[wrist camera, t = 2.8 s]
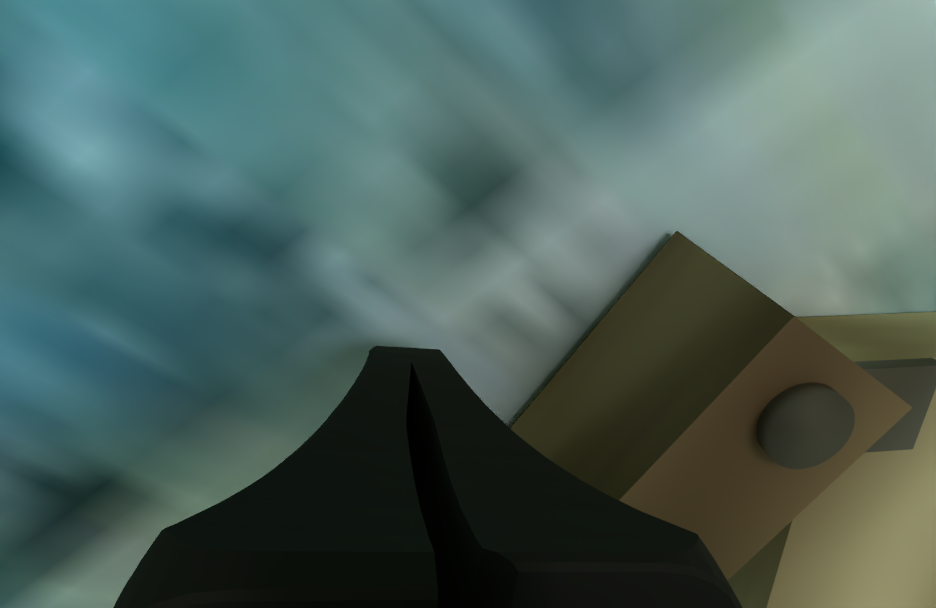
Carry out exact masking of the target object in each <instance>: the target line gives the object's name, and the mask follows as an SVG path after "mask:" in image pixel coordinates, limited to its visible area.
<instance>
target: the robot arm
mask: <svg viewBox="0 0 936 608" xmlns="http://www.w3.org/2000/svg"><path fill="white" fill-rule="evenodd" d="M114 608H742V606H741V604H740V602H739V600H738V599H737V597H736V595H735V593H734V591H733V590H732V588H731V586H730V584H729V583H728V581H727V579H726V578H725V576H724V574H723V572H722V571H721V569H720V567H719V565H718V564H717V562H716V561H715V559H714V558H713V556H712V555H711V553H710V552H709V550H708V549H707V547H706V546H705V544H704V543H703V541H702V540H701V539H700V537H699V536H698V534H696V533H694V532H691V531H689V530H686V529H684V528H681V527H679V526H676V525H674V524H671V523H669V522H667V521H664V520H662V519H659V518H657V517H654V516H652V515H649V514H647V513H644V512H642V511H640V510H637V509H635V508H633V507H631V506H629V505H627V504H625V503H623V502H621V501H619V500H617V499H615V498H613V497H611V496H609V495H607V494H605V493H603V492H601V491H600V490H598V489H596V488H594V487H592V486H591V485H589V484H587V483H585V482H583V481H582V480H580V479H579V478H577V477H575V476H574V475H572V474H571V473H569V472H568V471H566V470H564V469H563V468H561V467H560V466H558V465H557V464H555V463H554V462H552V461H551V460H549V459H548V458H546V457H545V456H544V455H542V454H541V453H540V452H538V451H537V450H536V449H535V448H533V447H532V446H531V445H529V444H528V443H527V442H526V441H524V440H523V439H522V438H520V437H519V436H518V435H517V434H516V433H515V432H513V431H512V430H511V429H510V428H509V427H508V426H507V425H506V424H505V423H504V422H503V421H502V420H500V419H499V418H498V417H497V416H496V415H495V414H494V413H493V412H492V411H491V410H490V409H489V408H488V407H487V406H486V405H485V404H484V403H483V402H482V400H481V399H480V398H479V397H478V396H477V395H476V394H475V393H474V391H473V390H472V389H471V388H470V387H469V386H468V384H467V383H466V382H465V381H464V379H463V378H462V377H461V376H460V375H459V373H458V372H457V371H456V369H455V368H454V367H453V366H452V364H451V363H450V362H449V361H448V359H447V358H446V357H445V356H444V354H443V353H442V352H441V351H440V350H437V349H420V348H403V347H386V346H375V347H374V348H372V349H371V350H370V351H369V355H368V358H367V361H366V363H365V365H364V367H363V369H362V371H361V373H360V374H359V376H358V378H357V380H356V381H355V383H354V384H353V386H352V387H351V389H350V390H349V392H348V393H347V395H346V396H345V397H344V399H343V400H342V401H341V403H340V404H339V405H338V406H337V408H336V409H335V410H334V411H333V413H332V414H331V415H330V416H329V417H328V419H327V420H326V421H325V422H324V423H323V424H322V425H321V427H320V428H319V429H318V430H317V431H316V432H315V433H314V434H313V435H312V436H311V437H310V438H309V439H308V440H307V441H306V442H305V443H304V444H303V445H302V446H300V447H299V448H298V449H297V450H296V451H295V452H294V453H292V454H291V455H290V456H289V457H288V458H286V459H285V460H284V461H283V462H282V463H280V464H279V465H278V466H277V467H275V468H274V469H273V470H271V471H270V472H269V473H267V474H266V475H265V476H263V477H262V478H260V479H259V480H257V481H256V482H254V483H253V484H251V485H250V486H248V487H246V488H245V489H243V490H241V491H240V492H238V493H236V494H234V495H233V496H231V497H229V498H227V499H226V500H224V501H222V502H220V503H218V504H216V505H214V506H212V507H210V508H208V509H206V510H204V511H202V512H200V513H198V514H195V515H193V516H191V517H189V518H187V519H185V520H183V521H181V522H179V523H177V524H174V525H172V526H170V527H167V528H165V529H163V530H162V531H161V532H160V534H159V535H158V537H157V538H156V539H155V541H154V542H153V544H152V545H151V547H150V548H149V550H148V551H147V553H146V554H145V555H144V557H143V558H142V560H141V561H140V563H139V565H138V566H137V568H136V570H135V571H134V573H133V574H132V576H131V577H130V579H129V580H128V582H127V584H126V585H125V587H124V589H123V591H122V592H121V594H120V596H119V598H118V600H117V601H116V603H115V606H114Z"/></svg>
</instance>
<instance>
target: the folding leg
mask: <svg viewBox="0 0 936 608" xmlns="http://www.w3.org/2000/svg"><path fill="white" fill-rule="evenodd" d="M912 408H913V407H911V406H910V405H909V404H907V403H906V402H905V401H904V400H902V399H901V398H900V397H898V396H897V395H896V394H894V393H893V392H892V391H891V390H889V389H888V388H887V387H885V386H884V385H883V384H882V383H880V382H879V381H878V380H876V379H875V378H874V377H872V376H871V375H870V374H869V373H867V372H866V371H865V370H863V369H862V368H861V367H860V366H858V365H857V364H856V363H854V362H853V361H852V360H850V359H849V358H848V357H847V356H845V355H844V354H843V353H841V352H840V351H839V350H838V349H836V348H835V347H834V346H832V345H831V344H830V343H828V342H827V341H826V340H825V339H823V338H822V337H821V336H819V335H818V334H817V333H816V332H814V331H813V330H812V329H810V328H809V327H808V326H806V325H805V324H804V323H803V322H801V321H800V320H799V319H797V318H796V317H795V316H793V315H792V314H791V313H789V312H788V311H787V310H785V309H784V308H782V307H781V306H780V305H778V304H777V303H776V302H774V301H773V300H771V299H770V298H769V297H767V296H766V295H765V294H763V293H762V292H760V291H759V290H758V289H756V288H755V287H754V286H752V285H751V284H749V283H748V282H747V281H745V280H744V279H743V278H741V277H740V276H738V275H737V274H736V273H734V272H733V271H732V270H730V269H729V268H727V267H726V266H725V265H723V264H722V263H720V262H719V261H718V260H716V259H715V258H714V257H712V256H711V255H709V254H708V253H707V252H705V251H704V250H703V249H701V248H700V247H698V246H697V245H696V244H694V243H693V242H692V241H690V240H689V239H687V238H686V237H685V236H683V235H682V234H681V233H679V232H678V231H676V232H675V234H674V235H673V236H672V237H671V238H670V239H669V241H668V242H667V243H666V244H665V245H664V247H663V248H662V249H661V250H660V251H659V252H658V254H657V255H656V256H655V257H654V258H653V260H652V261H651V262H650V263H649V264H648V266H647V267H646V268H645V269H644V270H643V271H642V273H641V274H640V275H639V276H638V277H637V279H636V280H635V281H634V282H633V283H632V285H631V286H630V287H629V288H628V289H627V290H626V292H625V293H624V294H623V295H622V296H621V298H620V299H619V300H618V301H617V302H616V304H615V305H614V306H613V307H612V308H611V309H610V311H609V312H608V313H607V314H606V315H605V317H604V318H603V319H602V320H601V321H600V323H599V324H598V325H597V326H596V327H595V328H594V330H593V331H592V332H591V333H590V334H589V336H588V337H587V338H586V339H585V340H584V341H583V343H582V344H581V345H580V346H579V347H578V349H577V350H576V351H575V352H574V353H573V355H572V356H571V357H570V358H569V359H568V360H567V362H566V363H565V364H564V365H563V366H562V368H561V369H560V370H559V371H558V372H557V374H556V375H555V376H554V377H553V378H552V379H551V381H550V382H549V383H548V384H547V385H546V387H545V388H544V389H543V390H542V391H541V393H540V394H539V395H538V396H537V397H536V398H535V400H534V401H533V402H532V403H531V404H530V406H529V407H528V408H527V409H526V410H525V412H524V413H523V414H522V415H521V416H520V417H519V419H518V420H517V421H516V422H515V423H514V425H513V426H512V427H511V428H510V429H511V430H512V431H513V432H515V433H516V434H517V435H518V436H519V437H520V438H522V439H523V440H524V441H526V442H527V443H528V444H529V445H531V446H532V447H533V448H535V449H536V450H537V451H538V452H540V453H541V454H542V455H544V456H545V457H546V458H548V459H549V460H551V461H552V462H554V463H555V464H557V465H558V466H560V467H561V468H563V469H564V470H566V471H568V472H569V473H571V474H572V475H574V476H575V477H577V478H579V479H580V480H582V481H583V482H585V483H587V484H589V485H591V486H592V487H594V488H596V489H598V490H600V491H601V492H603V493H605V494H607V495H609V496H611V497H613V498H615V499H617V500H619V501H621V502H623V503H625V504H627V505H629V506H631V507H633V508H635V509H637V510H640V511H642V512H644V513H647V514H649V515H652V516H654V517H657V518H659V519H662V520H664V521H667V522H669V523H671V524H674V525H676V526H679V527H681V528H684V529H686V530H689V531H691V532H694V533H696V534H698V536H699V537H700V539H701V540H702V541H703V543H704V544H705V546H706V547H707V549H708V550H709V552H710V553H711V555H712V556H713V558H714V559H715V561H716V562H717V564H718V565H719V567H720V569H721V571H722V572H723V574H724V576H725V578H726V579H727V581H728V580H729V579H730V578H731V577H732V576H733V575H734V574H735V573H736V572H737V571H738V570H739V569H740V568H742V567H743V566H744V565H745V564H746V563H747V562H748V561H749V560H750V559H751V558H752V557H753V556H754V555H755V554H757V553H758V552H759V551H760V550H761V549H762V548H763V547H764V546H765V545H766V544H767V543H768V542H769V541H770V540H772V539H773V538H774V537H775V536H776V535H777V534H778V533H779V532H780V531H781V530H782V529H783V528H784V527H785V526H787V525H788V524H789V523H790V522H791V521H792V520H793V519H794V518H795V517H796V516H797V515H798V514H799V513H800V512H802V511H803V510H804V509H805V508H806V507H807V506H808V505H809V504H810V503H811V502H812V501H813V500H814V499H815V498H816V497H818V496H819V495H820V494H821V493H822V492H823V491H824V490H825V489H826V488H827V487H828V486H829V485H830V484H831V483H833V482H834V481H835V480H836V479H837V478H838V477H839V476H840V475H841V474H842V473H843V472H844V471H845V470H846V469H848V468H849V467H850V466H851V465H852V464H853V463H854V462H855V461H856V460H857V459H858V458H859V457H860V456H861V455H863V454H864V453H865V452H866V451H867V450H868V449H869V448H870V447H871V446H872V445H873V444H874V443H875V442H876V441H878V440H879V439H880V438H881V437H882V436H883V435H884V434H885V433H886V432H887V431H888V430H889V429H890V428H891V427H893V426H894V425H895V424H896V423H897V422H898V421H899V420H900V419H901V418H902V417H903V416H904V415H905V414H906V413H907V412H909V411H910V410H911V409H912Z"/></svg>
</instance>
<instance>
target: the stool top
mask: <svg viewBox="0 0 936 608" xmlns="http://www.w3.org/2000/svg"><path fill="white" fill-rule="evenodd" d="M796 318H797V319H799V320H800V321H801V322H803V323H804V324H805V325H806V326H808V327H809V328H810V329H812V330H813V331H814V332H816V333H817V334H818V335H819V336H821V337H822V338H823V339H825V340H826V341H827V342H828V343H830V344H831V345H832V346H834V347H835V348H836V349H838V350H839V351H840V352H841V353H843V354H844V355H845V356H847V357H848V358H849V359H850V360H852V361H853V362H854V363H856V364H857V365H858V366H860V367H861V368H862V369H863V370H865V371H866V372H867V373H869V374H870V375H871V376H872V377H874V378H875V379H876V380H878V381H879V382H880V383H882V384H883V385H884V386H885V387H887V388H888V389H889V390H891V391H892V392H893V393H894V394H896V395H897V396H898V397H900V398H901V399H902V400H904V401H905V402H906V403H907V404H909V405H910V406H911V407H913V408H912V409H911V410H910V411H909V412H907V413H906V414H905V415H904V416H903V417H902V418H901V419H900V420H899V421H898V422H897V423H896V424H895V425H894V426H893V427H891V428H890V429H889V430H888V431H887V432H886V433H885V434H884V435H883V436H882V437H881V438H880V439H879V440H878V441H876V442H875V443H874V444H873V445H872V446H871V447H870V448H869V449H868V450H867V451H866V452H865V453H864V454H863V455H861V456H860V457H859V458H858V459H857V460H856V461H855V462H854V463H853V464H852V465H851V466H850V467H849V468H848V469H846V470H845V471H844V472H843V473H842V474H841V475H840V476H839V477H838V478H837V479H836V480H835V481H834V482H833V483H831V484H830V485H829V486H828V487H827V488H826V489H825V490H824V491H823V492H822V493H821V494H820V495H819V496H818V497H816V498H815V499H814V500H813V501H812V502H811V503H810V504H809V505H808V506H807V507H806V508H805V509H804V510H803V511H802V512H800V513H799V514H798V515H797V516H796V517H795V518H794V519H793V520H792V521H791V522H790V523H789V524H788V525H787V526H785V527H784V528H783V529H782V530H781V531H780V532H779V533H778V534H777V535H776V536H775V537H774V538H773V539H772V540H770V541H769V542H768V543H767V544H766V545H765V546H764V547H763V548H762V549H761V550H760V551H759V552H758V553H757V554H755V555H754V556H753V557H752V558H751V559H750V560H749V561H748V562H747V563H746V564H745V565H744V566H743V567H742V568H740V569H739V570H738V571H737V572H736V573H735V574H734V575H733V576H732V577H731V578H730V579H729V580H728V583H729V584H730V586H731V588H732V590H733V591H734V593H735V595H736V597H737V599H738V600H739V602H740V604H741V606H742V608H936V312H919V313H894V314H870V315H845V316H820V317H796Z"/></svg>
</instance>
